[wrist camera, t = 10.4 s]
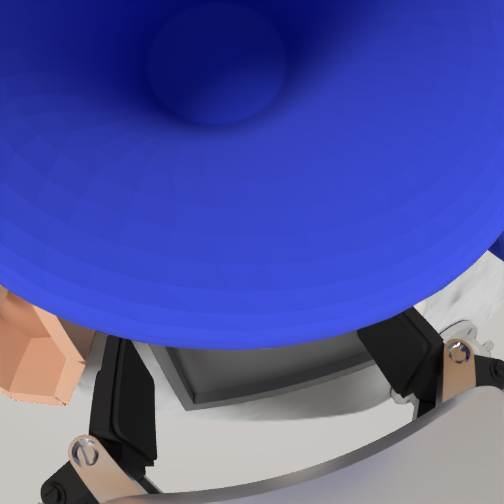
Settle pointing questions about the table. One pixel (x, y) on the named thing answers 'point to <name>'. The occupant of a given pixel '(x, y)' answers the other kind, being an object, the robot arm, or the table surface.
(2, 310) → the bowl
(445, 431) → the robot arm
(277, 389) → the tray
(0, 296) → the white ball
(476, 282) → the table surface
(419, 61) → the mug
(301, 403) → the table surface
